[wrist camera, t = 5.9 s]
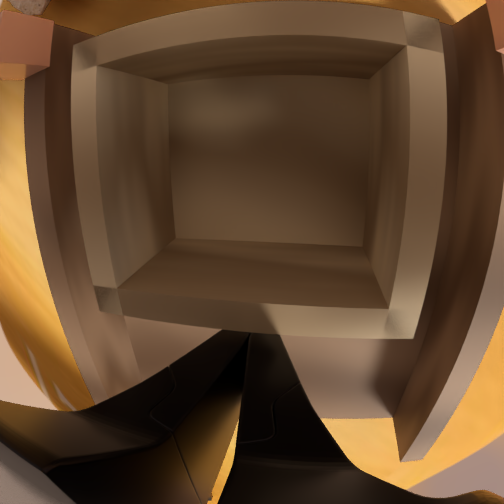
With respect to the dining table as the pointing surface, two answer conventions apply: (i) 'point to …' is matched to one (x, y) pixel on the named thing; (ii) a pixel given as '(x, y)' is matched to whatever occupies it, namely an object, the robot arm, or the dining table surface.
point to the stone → (30, 6)
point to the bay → (298, 347)
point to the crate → (263, 167)
